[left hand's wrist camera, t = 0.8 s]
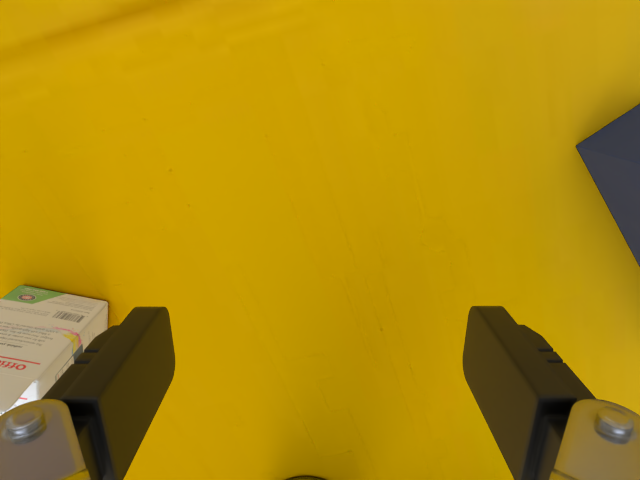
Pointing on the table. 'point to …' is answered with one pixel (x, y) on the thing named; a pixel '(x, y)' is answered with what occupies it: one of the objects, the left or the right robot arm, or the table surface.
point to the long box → (618, 172)
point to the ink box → (42, 339)
